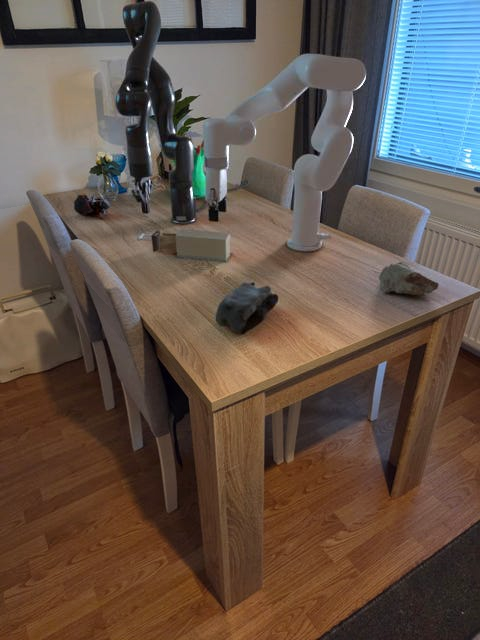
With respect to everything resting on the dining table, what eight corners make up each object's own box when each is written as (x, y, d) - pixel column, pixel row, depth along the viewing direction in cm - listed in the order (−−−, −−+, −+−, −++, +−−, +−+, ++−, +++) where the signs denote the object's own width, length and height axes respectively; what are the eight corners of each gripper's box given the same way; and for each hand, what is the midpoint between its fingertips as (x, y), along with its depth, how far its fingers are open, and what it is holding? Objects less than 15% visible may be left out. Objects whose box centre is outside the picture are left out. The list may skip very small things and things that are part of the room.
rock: (249, 344, 108) (249, 316, 104) (210, 332, 113) (209, 305, 109) (280, 311, 122) (281, 285, 118) (243, 301, 127) (244, 276, 123)
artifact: (399, 307, 125) (440, 299, 130) (406, 284, 121) (449, 278, 126) (362, 275, 139) (401, 270, 144) (368, 254, 135) (408, 249, 140)
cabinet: (177, 256, 154) (175, 235, 149) (182, 249, 159) (181, 229, 155) (226, 261, 150) (225, 239, 146) (230, 254, 156) (230, 233, 152)
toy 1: (101, 187, 180) (72, 186, 186) (93, 207, 178) (64, 205, 183) (117, 205, 191) (89, 203, 196) (109, 223, 188) (82, 221, 194)
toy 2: (167, 190, 223) (163, 137, 210) (207, 188, 227) (205, 135, 214) (172, 202, 206) (167, 145, 193) (214, 199, 210) (213, 143, 197)
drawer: (137, 250, 156) (135, 234, 153) (143, 244, 160) (141, 229, 157) (197, 255, 152) (196, 239, 149) (201, 249, 157) (201, 233, 153)
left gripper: (137, 155, 148) (143, 206, 158) (120, 164, 138) (127, 218, 147) (158, 156, 147) (163, 207, 156) (142, 165, 136) (148, 220, 145)
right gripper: (212, 156, 145) (213, 207, 154) (196, 168, 131) (199, 224, 140) (234, 157, 144) (234, 209, 153) (221, 169, 129) (222, 226, 138)
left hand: (145, 212), depth 151 cm, fingers closed
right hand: (217, 216), depth 146 cm, fingers open, 9 cm apart
